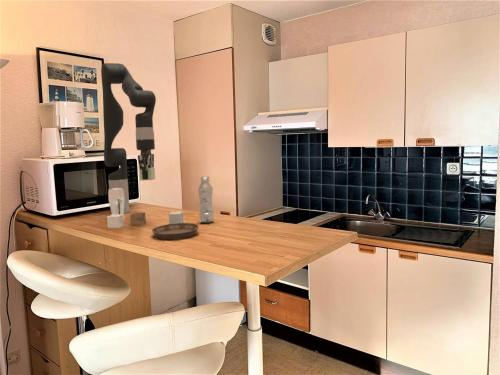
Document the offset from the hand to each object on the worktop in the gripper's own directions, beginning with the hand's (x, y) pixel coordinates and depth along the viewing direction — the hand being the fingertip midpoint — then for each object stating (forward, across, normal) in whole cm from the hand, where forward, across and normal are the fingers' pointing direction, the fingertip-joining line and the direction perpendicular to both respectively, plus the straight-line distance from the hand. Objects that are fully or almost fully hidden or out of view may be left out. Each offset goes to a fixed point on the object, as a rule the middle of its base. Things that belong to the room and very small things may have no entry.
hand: (147, 178), depth 168 cm
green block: (0, 0, 0) cm, 0 cm away
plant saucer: (+21, +18, +16) cm, 32 cm away
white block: (+20, +2, -14) cm, 25 cm away
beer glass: (+21, -11, -19) cm, 30 cm away
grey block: (+20, -2, +11) cm, 23 cm away
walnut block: (+20, -2, -6) cm, 21 cm away
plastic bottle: (+21, -4, +24) cm, 32 cm away
